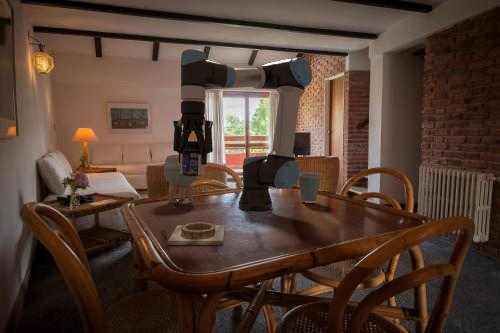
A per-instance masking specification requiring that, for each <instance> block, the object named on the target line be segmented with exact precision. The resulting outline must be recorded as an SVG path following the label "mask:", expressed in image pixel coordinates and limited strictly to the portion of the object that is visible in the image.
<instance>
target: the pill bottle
mask: <svg viewBox="0 0 500 333" xmlns="http://www.w3.org/2000/svg"><path fill="white" fill-rule="evenodd" d="M185 145H186V148H185V149H184V150H183V175H184V176H197V177H200V176H202V175H198V155H200V154H199V153H200V149H199V145H198V142H197V140H196V141H195V140H188V141H185Z"/></svg>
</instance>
